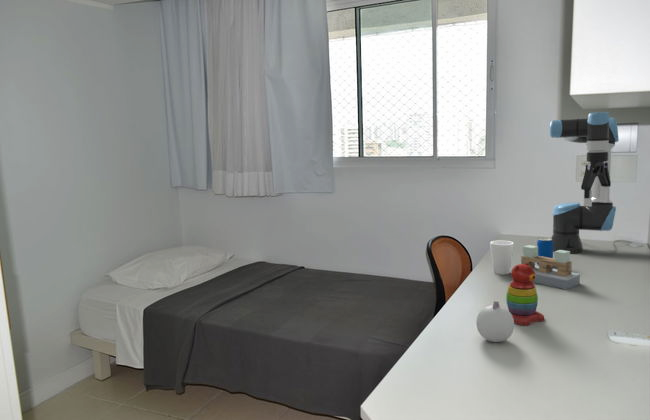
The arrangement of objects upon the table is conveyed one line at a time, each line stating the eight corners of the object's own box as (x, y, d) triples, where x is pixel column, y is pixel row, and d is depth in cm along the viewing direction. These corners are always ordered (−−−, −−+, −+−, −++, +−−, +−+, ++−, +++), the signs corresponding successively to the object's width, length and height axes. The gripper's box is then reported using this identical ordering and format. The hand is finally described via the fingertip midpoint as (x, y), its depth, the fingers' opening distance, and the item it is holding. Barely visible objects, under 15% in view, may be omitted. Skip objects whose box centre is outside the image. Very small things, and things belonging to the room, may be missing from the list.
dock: (526, 273, 209) (526, 263, 209) (579, 283, 192) (579, 273, 191) (513, 277, 203) (513, 268, 203) (566, 289, 186) (566, 279, 185)
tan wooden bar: (528, 265, 205) (528, 254, 205) (571, 274, 191) (571, 261, 191) (521, 268, 202) (521, 256, 202) (564, 276, 188) (565, 263, 188)
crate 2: (559, 259, 194) (559, 249, 193) (569, 261, 191) (570, 251, 190) (554, 261, 191) (554, 251, 191) (564, 263, 188) (564, 253, 188)
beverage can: (549, 263, 222) (550, 237, 221) (554, 267, 216) (555, 240, 214) (534, 263, 223) (535, 237, 221) (539, 267, 217) (539, 240, 215)
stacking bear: (523, 327, 152) (524, 270, 150) (498, 317, 161) (498, 264, 159) (547, 319, 157) (548, 265, 155) (521, 310, 166) (522, 258, 164)
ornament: (509, 350, 137) (509, 308, 135) (472, 343, 142) (472, 303, 140) (517, 337, 145) (517, 297, 143) (481, 331, 151) (481, 293, 149)
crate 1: (528, 254, 204) (528, 245, 204) (537, 256, 201) (538, 246, 200) (523, 256, 202) (523, 246, 201) (532, 257, 199) (532, 248, 198)
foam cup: (489, 274, 209) (489, 244, 208) (490, 269, 218) (490, 240, 216) (513, 276, 206) (513, 245, 204) (513, 270, 214) (514, 240, 212)
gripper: (601, 150, 208) (600, 200, 211) (572, 153, 193) (571, 207, 196) (621, 149, 202) (619, 201, 205) (592, 153, 187) (590, 208, 190)
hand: (595, 204), depth 201 cm, fingers open, 13 cm apart
